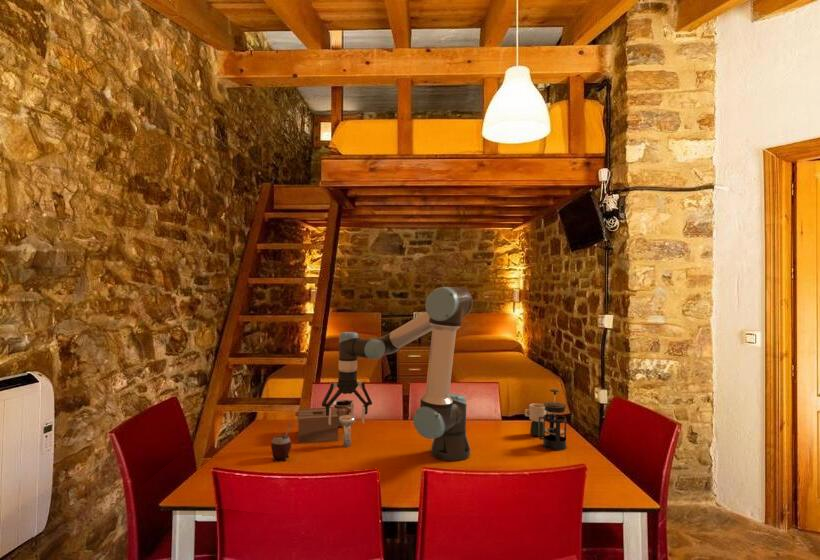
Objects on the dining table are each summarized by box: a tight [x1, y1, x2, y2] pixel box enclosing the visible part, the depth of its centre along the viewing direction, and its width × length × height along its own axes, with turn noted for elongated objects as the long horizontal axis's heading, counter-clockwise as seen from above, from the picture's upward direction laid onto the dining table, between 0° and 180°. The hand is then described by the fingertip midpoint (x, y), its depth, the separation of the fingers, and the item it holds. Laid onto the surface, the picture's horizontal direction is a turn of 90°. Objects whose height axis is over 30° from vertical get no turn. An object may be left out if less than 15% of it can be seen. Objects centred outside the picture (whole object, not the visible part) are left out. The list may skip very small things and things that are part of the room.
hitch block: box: [297, 406, 339, 444], centre depth 206 cm, size 16×16×10 cm
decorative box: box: [332, 399, 355, 428], centre depth 228 cm, size 13×20×10 cm, turn 177°
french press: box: [538, 388, 568, 451], centre depth 196 cm, size 12×9×23 cm
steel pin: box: [339, 414, 356, 448], centre depth 194 cm, size 6×6×12 cm
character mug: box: [524, 403, 551, 437], centre depth 211 cm, size 11×7×13 cm, turn 80°
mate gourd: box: [270, 418, 298, 463], centre depth 179 cm, size 8×8×15 cm
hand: (346, 423), depth 194 cm, fingers open, 13 cm apart
